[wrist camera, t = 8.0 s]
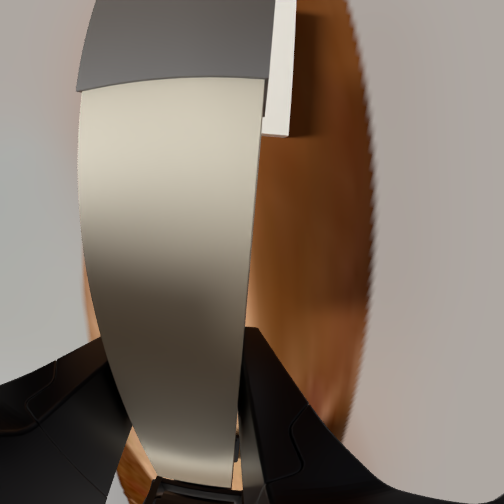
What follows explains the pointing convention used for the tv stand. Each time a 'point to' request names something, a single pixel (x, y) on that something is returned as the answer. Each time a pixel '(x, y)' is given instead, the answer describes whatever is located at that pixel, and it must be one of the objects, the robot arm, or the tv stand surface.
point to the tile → (280, 71)
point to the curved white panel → (173, 213)
